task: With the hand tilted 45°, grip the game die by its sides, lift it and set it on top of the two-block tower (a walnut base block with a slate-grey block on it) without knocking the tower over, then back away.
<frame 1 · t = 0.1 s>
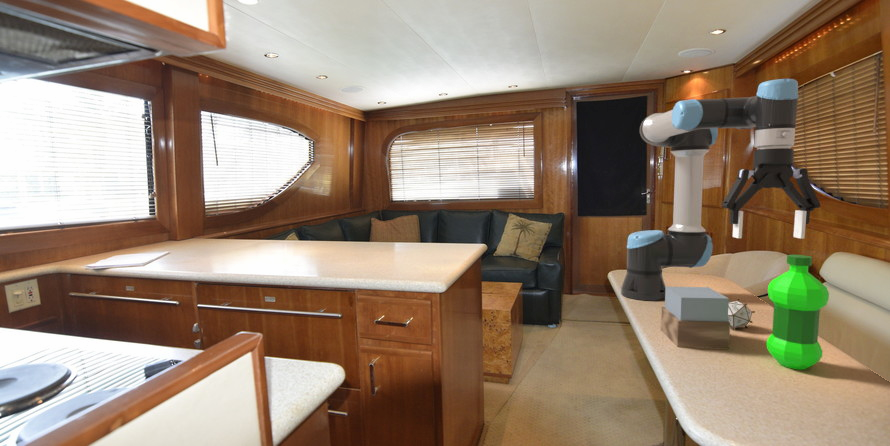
hand: (767, 237, 104), 28 cm above the table, tool pointing down, fingers open, 13 cm apart
tower base: (692, 340, 114), on the table, touching tower top
game die: (735, 328, 122), on the table
tower top: (694, 314, 114), point 7 cm above the table, touching tower base
plastic bottle: (792, 365, 98), on the table
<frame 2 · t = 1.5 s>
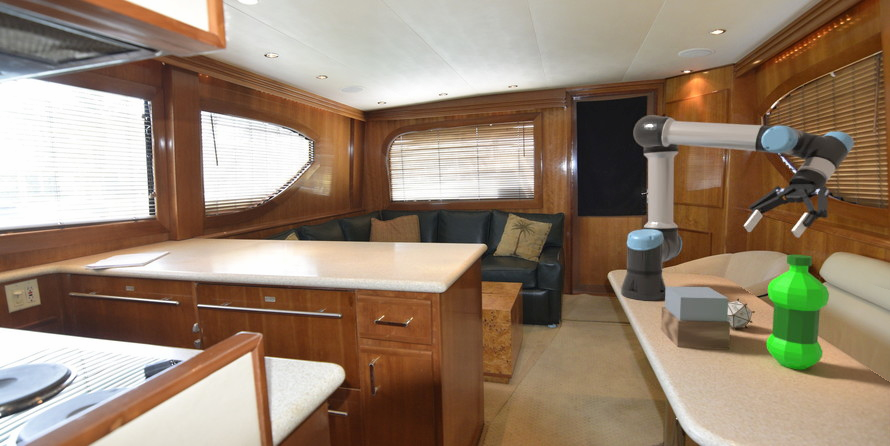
hand: (769, 231, 122), 27 cm above the table, tool tilted 45°, fingers open, 13 cm apart
nothing on the table moved.
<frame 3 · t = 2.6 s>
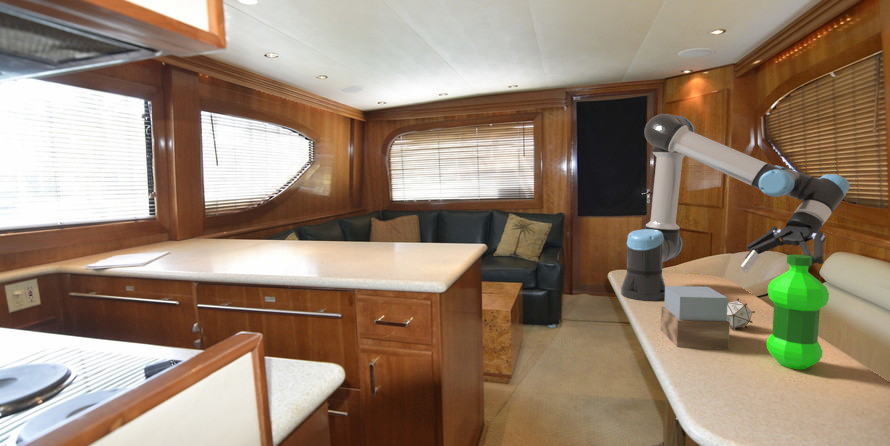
hand: (766, 274, 123), 15 cm above the table, tool tilted 45°, fingers open, 13 cm apart
tower base: (692, 339, 114), on the table
tower top: (693, 313, 114), point 7 cm above the table
everything else where it was.
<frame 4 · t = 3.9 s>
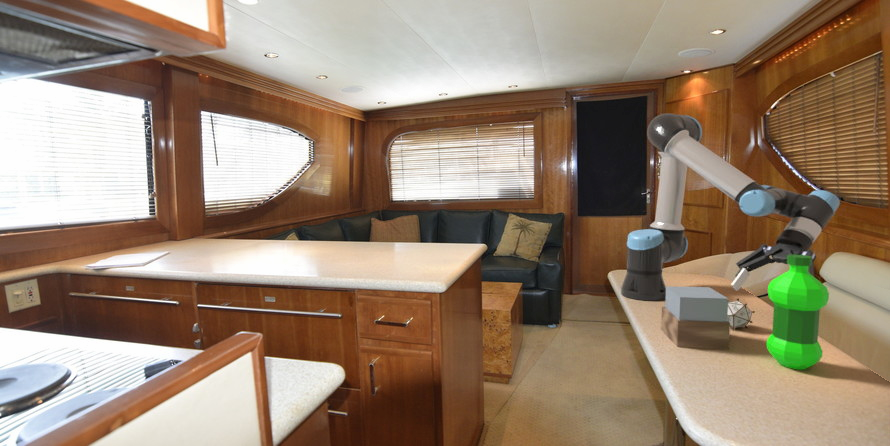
hand: (756, 293, 121), 10 cm above the table, tool tilted 45°, fingers open, 13 cm apart
nothing on the table moved.
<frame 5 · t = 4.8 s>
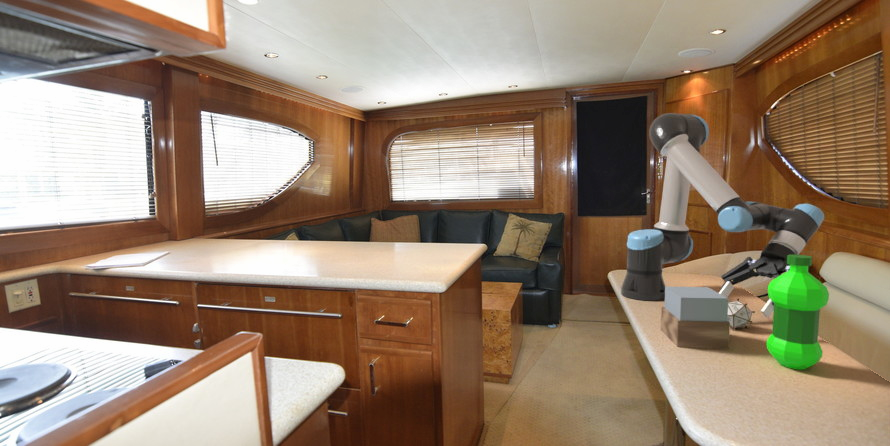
hand: (740, 307, 121), 6 cm above the table, tool tilted 45°, fingers open, 13 cm apart
tower base: (692, 339, 115), on the table, touching tower top
tower top: (694, 314, 114), point 7 cm above the table, touching tower base
everything else where it was.
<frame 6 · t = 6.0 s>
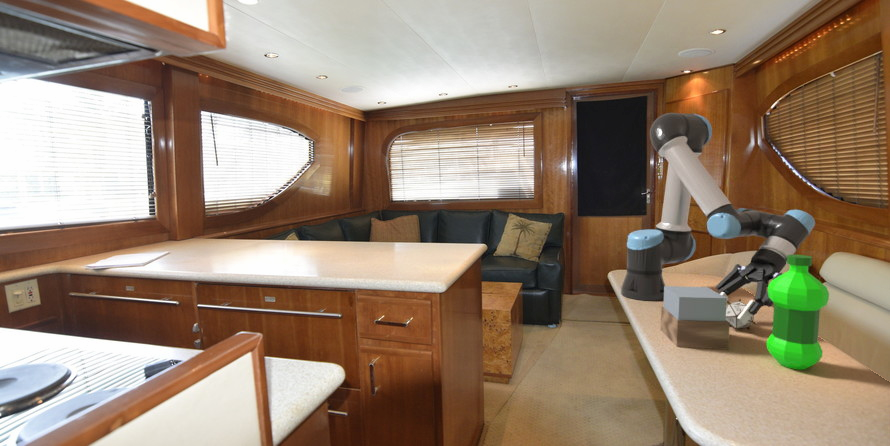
hand: (726, 316, 121), 4 cm above the table, tool tilted 45°, fingers closed on game die, 8 cm apart
game die: (737, 329, 121), on the table, touching gripper
everything else where it was.
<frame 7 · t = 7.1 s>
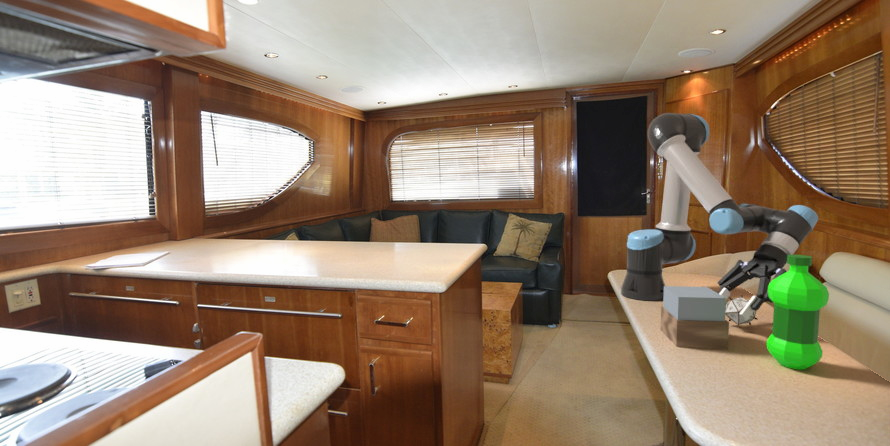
hand: (728, 312, 120), 5 cm above the table, tool tilted 45°, fingers closed on game die, 8 cm apart
game die: (739, 325, 121), point 1 cm above the table, touching gripper
everything else where it was.
when the fingers open (18 cm above the table, at t = 12.6 s): game die drops 2 cm, resting on tower top.
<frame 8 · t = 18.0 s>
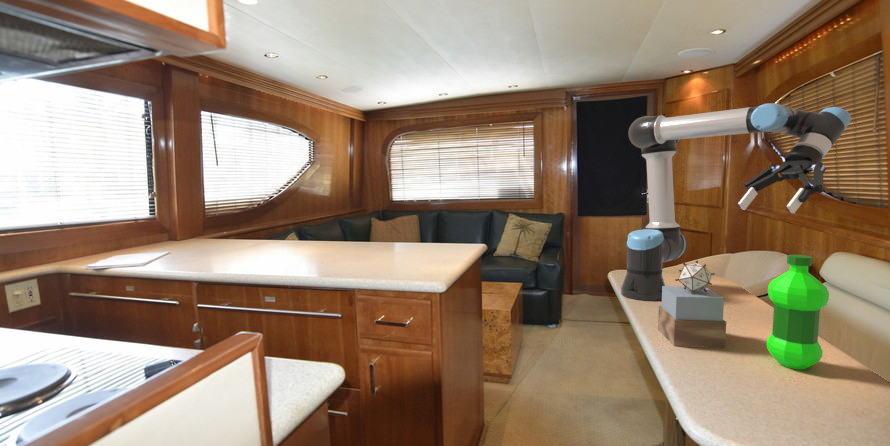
hand: (764, 208, 119), 34 cm above the table, tool tilted 45°, fingers open, 13 cm apart
game die: (694, 292, 113), point 13 cm above the table, touching tower top
tower top: (690, 313, 114), point 7 cm above the table, touching game die, tower base
everything else where it was.
at the end: game die inside the target area (0.1 cm from its centre), point 12.5 cm above the table; tower top tilted 0°; tower top 0.1 cm from the tower base (horizontally) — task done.
